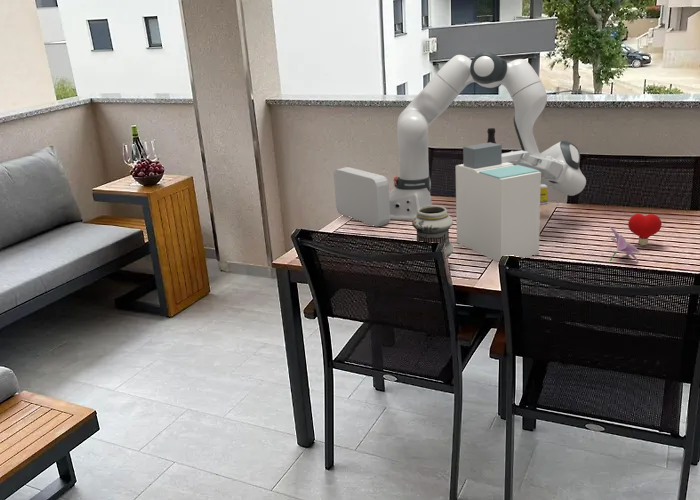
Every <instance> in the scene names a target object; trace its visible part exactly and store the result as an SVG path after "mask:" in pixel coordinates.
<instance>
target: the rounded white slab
mask: <svg viewBox="0 0 700 500" xmlns="http://www.w3.org/2000/svg"><path fill="white" fill-rule="evenodd" d="M333 182H334V194H335V208H336V211H337V213H338V214H339V215H342V216H344V215H345V216H344V217H347V216H350V217H352V218H354V219H353V220H355V219H357V220H356V221H358V220H359V221H358V222H360V221H362V222H361V223H363V222H365V223H364V224H366V223H367V224H366V225H369V224H370V225H369V226H371V225H374V226H376V227H381V226H385V225H388V224H389V223H390V221H391V219H390V206H389V192H390V189H389V181H388V178H387V177H386V176H384V175H382V174H377V173H373V172H369V171H365V170H362V169H357V168H355V167H354V168H353V167H349V166H345V167H341V168H337V169H334V172H333ZM352 218H351V219H352ZM374 226H373V227H374ZM376 227H375V228H376Z"/></svg>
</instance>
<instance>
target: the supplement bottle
mask: <svg viewBox="0 0 700 500" xmlns="http://www.w3.org/2000/svg"><path fill="white" fill-rule="evenodd" d="M548 202H549V186H547V185H545V184H543V183H541V191H540V205H546V204H548Z"/></svg>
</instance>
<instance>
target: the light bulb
mask: <svg viewBox="0 0 700 500" xmlns="http://www.w3.org/2000/svg"><path fill="white" fill-rule="evenodd" d="M627 226H628V229H629V230H630V231H631V233H632V234H634V235H636V236H637V237H638V244H639V245H640V246H641V247H645V246H647V245H648V244H649V238H651V236H654V235H655V234H657V233H658V232H659V231H660V230H661V228H662V220H661V219H660V217H659V216H658V215H657V214H654V213H650V214H646V215H644V214H641V213H635V214H633V215H632V216H631V217H630V218H629V220H628V222H627Z"/></svg>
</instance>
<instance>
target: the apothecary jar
mask: <svg viewBox="0 0 700 500" xmlns="http://www.w3.org/2000/svg"><path fill="white" fill-rule="evenodd" d="M453 222H454V220H453V218H452V216H450V214H448V210H447V208H446V207H445V206H442V205H433V204H432V206H424V207H421V208H419V209H418V212H417V216H415V217H414V219H413V220H412V223H411V224H412V227H413V228H414V229H415V231H416V242H417V241H423V242H439V243H444V244H445V247H446V254H447V258H449V257H450V256H451V255H452V254H453V253H454V251H455V250H454V244H453V243H452V242H451V241H450V235H449V229H450V228H451V227H452V225H453ZM449 267H450V268H451V264H450V263H449Z"/></svg>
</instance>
